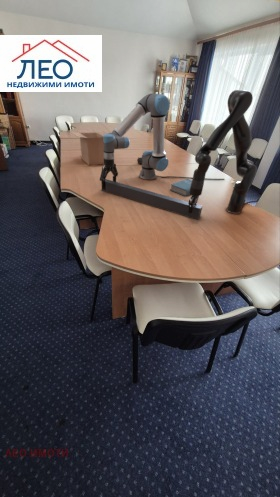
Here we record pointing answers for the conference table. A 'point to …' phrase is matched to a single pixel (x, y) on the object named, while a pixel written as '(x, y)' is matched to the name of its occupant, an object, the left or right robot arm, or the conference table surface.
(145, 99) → the left robot arm
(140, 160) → the laser sight
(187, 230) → the conference table surface
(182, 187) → the book
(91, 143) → the box
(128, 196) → the post
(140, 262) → the conference table surface
